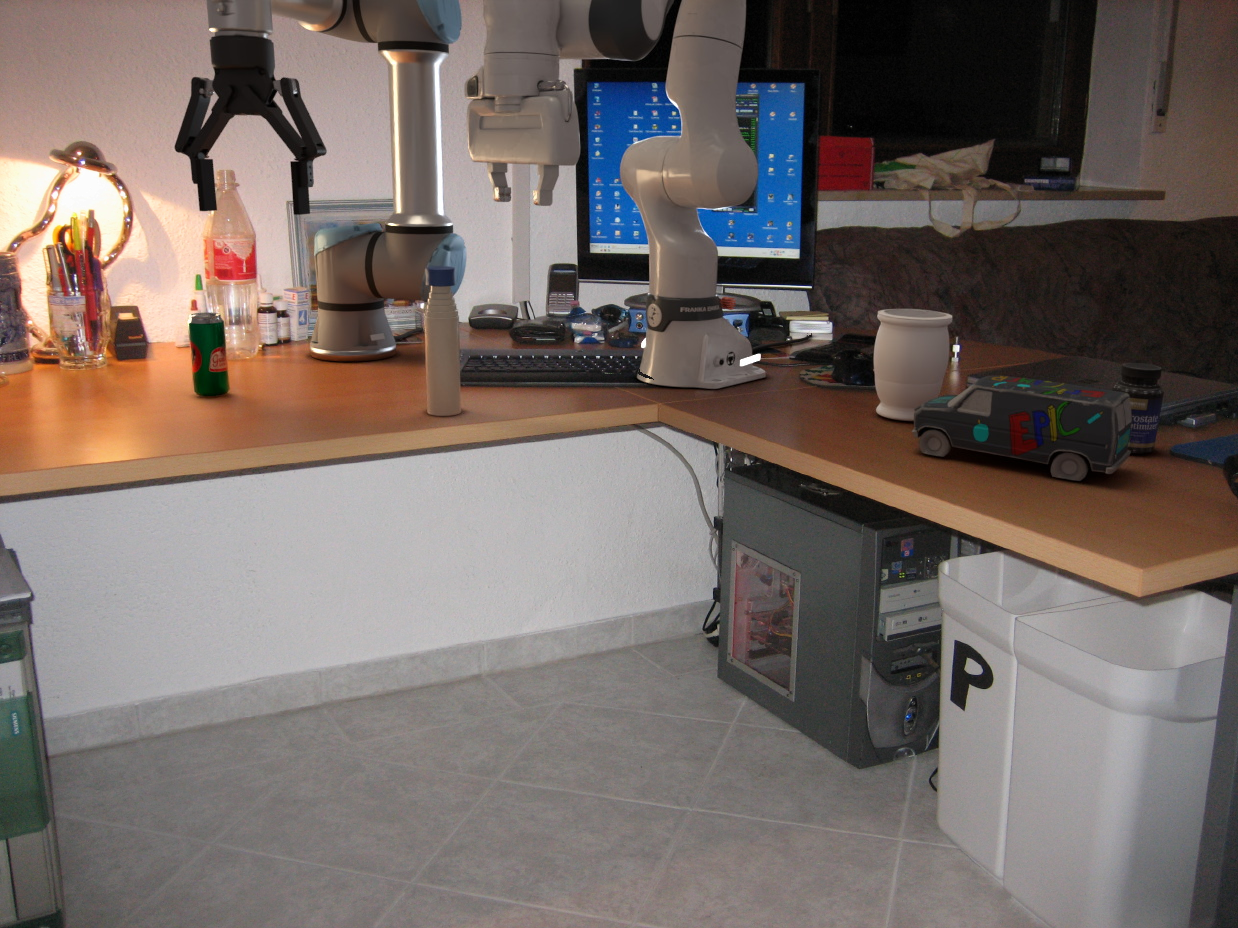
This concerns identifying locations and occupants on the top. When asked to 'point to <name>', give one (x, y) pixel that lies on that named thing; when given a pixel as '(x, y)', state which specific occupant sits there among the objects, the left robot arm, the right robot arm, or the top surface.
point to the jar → (909, 359)
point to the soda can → (208, 354)
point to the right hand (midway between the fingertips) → (521, 203)
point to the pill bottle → (1142, 403)
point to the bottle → (442, 353)
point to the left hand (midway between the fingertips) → (254, 213)
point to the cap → (440, 276)
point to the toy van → (1031, 424)
